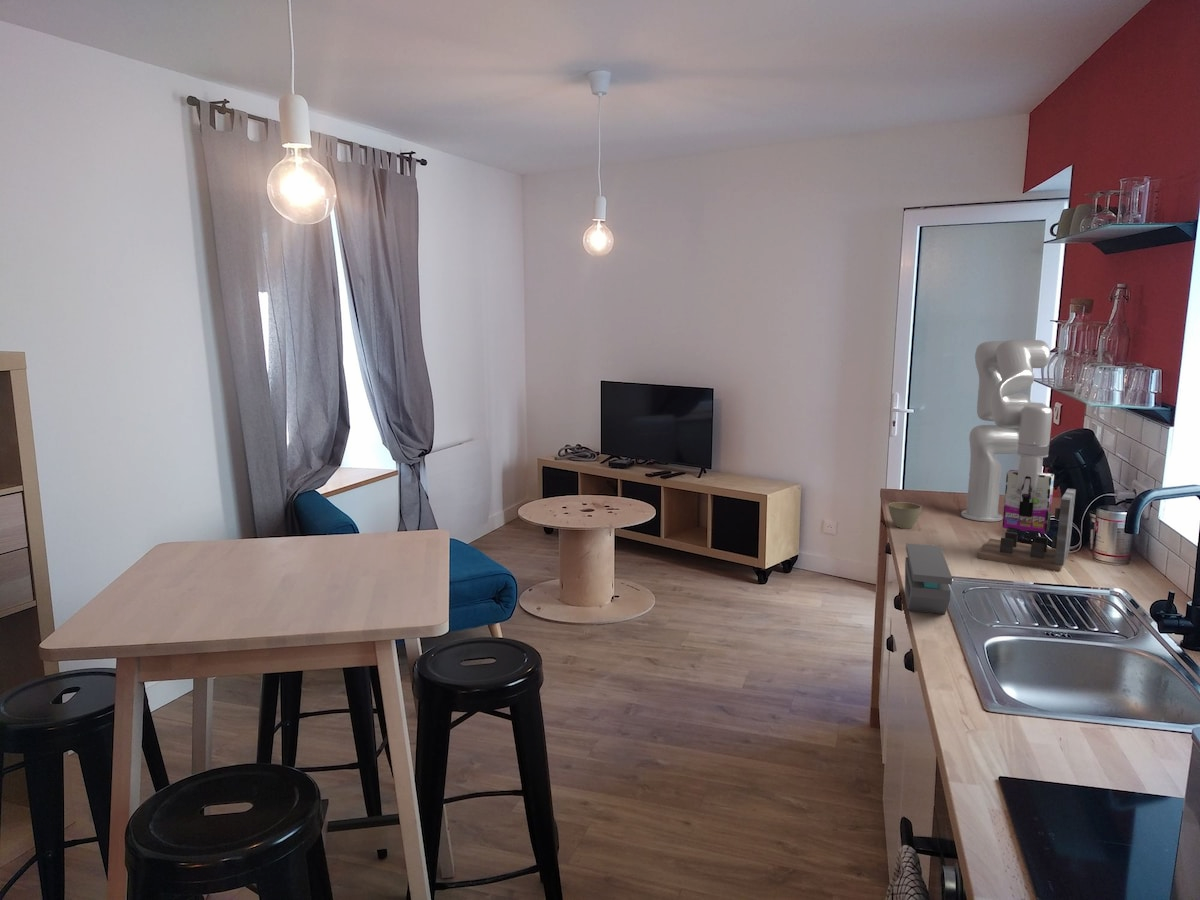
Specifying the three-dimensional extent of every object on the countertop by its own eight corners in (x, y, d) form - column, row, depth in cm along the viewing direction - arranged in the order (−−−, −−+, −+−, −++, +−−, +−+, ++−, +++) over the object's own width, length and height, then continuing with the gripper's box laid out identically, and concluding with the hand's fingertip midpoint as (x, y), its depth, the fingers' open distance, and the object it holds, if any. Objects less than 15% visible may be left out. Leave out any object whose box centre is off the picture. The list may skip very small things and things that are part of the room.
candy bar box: (1049, 531, 213) (1055, 473, 210) (1046, 534, 209) (1052, 476, 206) (1005, 524, 220) (1010, 468, 217) (1001, 528, 216) (1006, 471, 213)
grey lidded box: (948, 625, 167) (952, 578, 165) (910, 621, 170) (913, 574, 168) (937, 588, 191) (940, 546, 189) (903, 584, 193) (906, 543, 191)
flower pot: (914, 523, 252) (916, 502, 250) (924, 531, 242) (926, 509, 241) (883, 522, 253) (885, 501, 251) (892, 530, 243) (893, 508, 242)
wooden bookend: (989, 543, 229) (995, 479, 226) (1069, 555, 217) (1076, 488, 213) (977, 558, 214) (983, 490, 211) (1062, 572, 202) (1069, 500, 199)
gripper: (1022, 445, 220) (1016, 506, 223) (1012, 453, 206) (1006, 518, 209) (1052, 447, 215) (1046, 510, 218) (1044, 455, 202) (1037, 522, 205)
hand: (1026, 513), depth 214 cm, fingers closed on candy bar box, 5 cm apart
